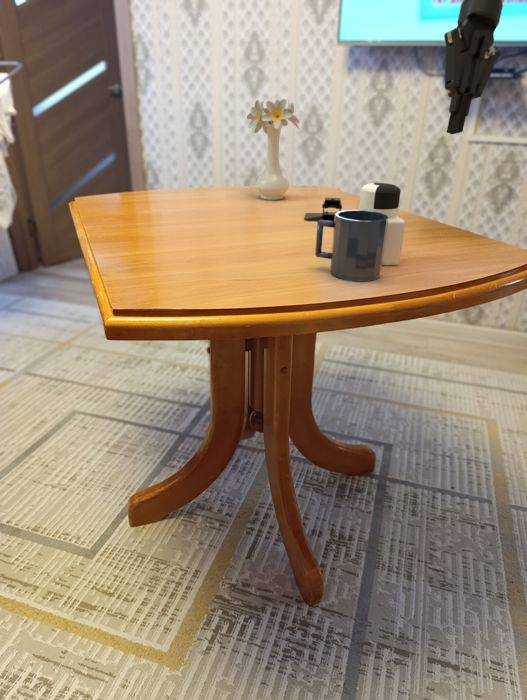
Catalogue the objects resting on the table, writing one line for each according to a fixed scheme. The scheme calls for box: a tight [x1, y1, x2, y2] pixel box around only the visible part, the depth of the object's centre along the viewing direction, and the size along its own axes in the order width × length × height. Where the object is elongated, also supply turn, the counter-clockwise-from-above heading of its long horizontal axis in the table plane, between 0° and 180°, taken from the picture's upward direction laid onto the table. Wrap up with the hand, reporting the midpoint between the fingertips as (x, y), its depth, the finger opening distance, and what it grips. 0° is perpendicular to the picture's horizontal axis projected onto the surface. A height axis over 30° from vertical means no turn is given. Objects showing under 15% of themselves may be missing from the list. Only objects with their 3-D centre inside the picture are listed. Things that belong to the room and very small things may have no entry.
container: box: [358, 182, 406, 266], centre depth 89 cm, size 8×8×13 cm
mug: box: [314, 209, 389, 283], centre depth 82 cm, size 11×8×10 cm
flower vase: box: [246, 98, 300, 201], centre depth 137 cm, size 13×18×25 cm
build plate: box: [304, 196, 343, 222], centre depth 120 cm, size 12×7×5 cm, turn 84°
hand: (454, 132), depth 99 cm, fingers closed
